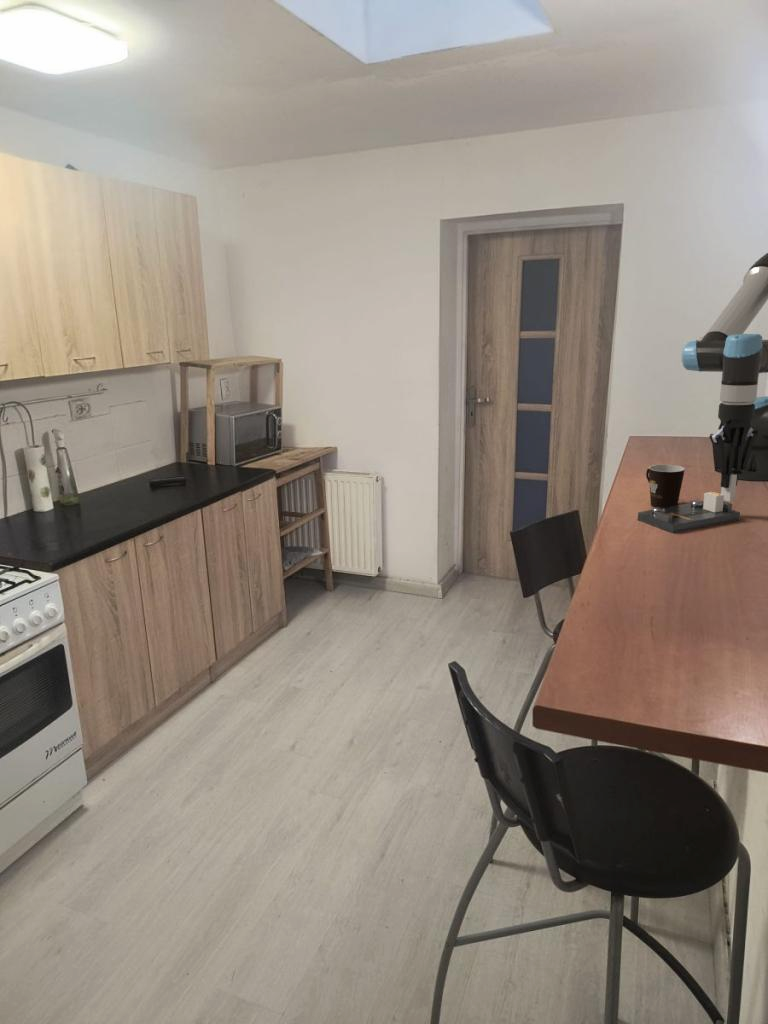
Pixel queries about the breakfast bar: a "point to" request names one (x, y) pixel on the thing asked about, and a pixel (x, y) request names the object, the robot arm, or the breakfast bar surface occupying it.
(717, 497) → the fader knob
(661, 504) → the coffee mug
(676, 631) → the breakfast bar surface
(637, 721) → the breakfast bar surface
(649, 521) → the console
